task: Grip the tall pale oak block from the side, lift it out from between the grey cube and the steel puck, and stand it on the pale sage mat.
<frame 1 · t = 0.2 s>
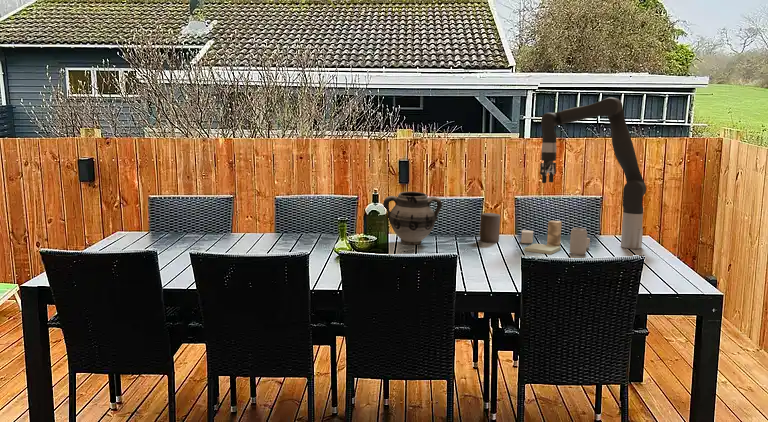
hand: (547, 182, 359), 29 cm above the table, tool pointing down, fingers open, 8 cm apart
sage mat: (542, 250, 328), on the table
oak block: (553, 245, 340), on the table
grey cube: (526, 242, 348), on the table
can: (577, 254, 322), on the table
pillar candle: (489, 241, 349), on the table
steel puck: (582, 248, 334), on the table
ceramic pot: (411, 243, 339), on the table
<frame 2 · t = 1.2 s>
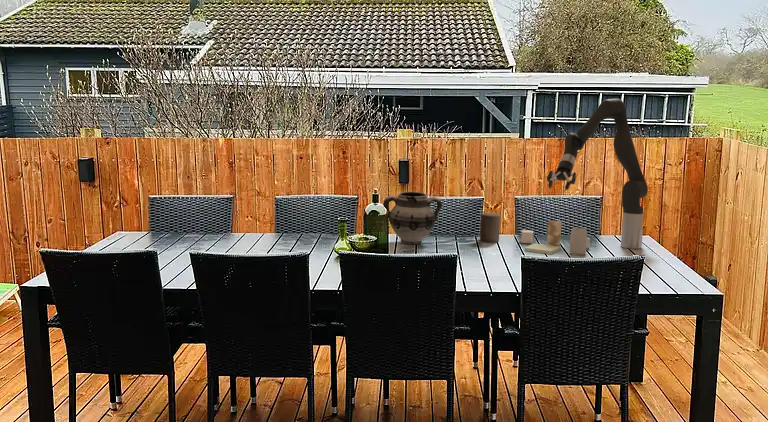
hand: (557, 188, 352), 27 cm above the table, tool tilted 45°, fingers open, 8 cm apart
nothing on the table moved.
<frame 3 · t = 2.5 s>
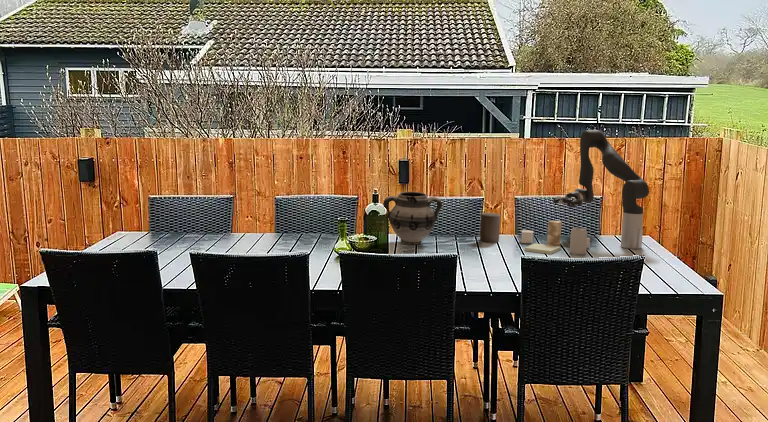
hand: (563, 202, 346), 20 cm above the table, tool horizontal, fingers open, 8 cm apart
nothing on the table moved.
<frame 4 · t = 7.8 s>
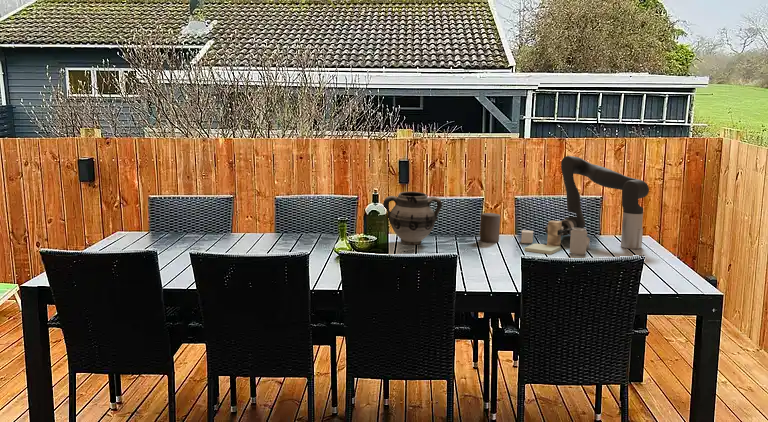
hand: (552, 232, 337), 7 cm above the table, tool horizontal, fingers closed on oak block, 5 cm apart
oak block: (553, 245, 340), on the table, touching gripper
everything else where it was.
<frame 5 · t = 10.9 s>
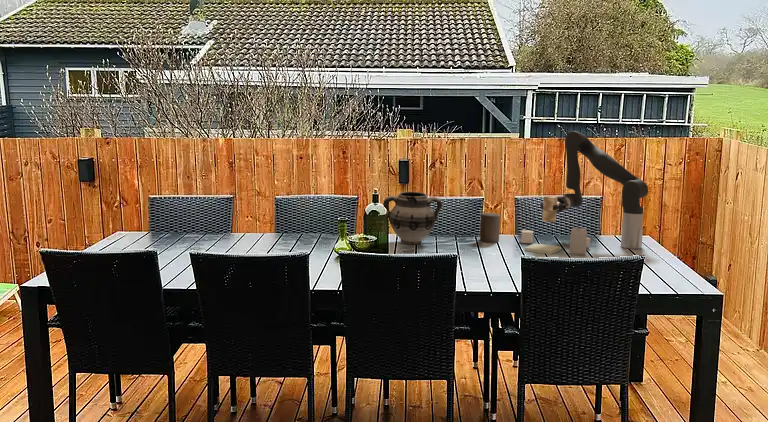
hand: (548, 207, 330), 20 cm above the table, tool horizontal, fingers closed on oak block, 5 cm apart
oak block: (549, 221, 333), point 13 cm above the table, touching gripper
everything else where it was.
when the fingers open (10 cm above the table, at t = 14.0 s): oak block drops 1 cm, resting on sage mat.
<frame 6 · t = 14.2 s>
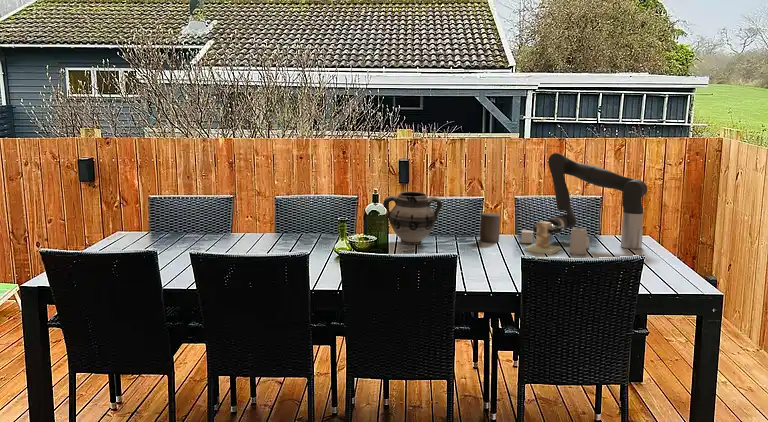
hand: (541, 230, 325), 10 cm above the table, tool horizontal, fingers open, 6 cm apart
oak block: (542, 247, 328), point 1 cm above the table, touching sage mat
everything else where it was.
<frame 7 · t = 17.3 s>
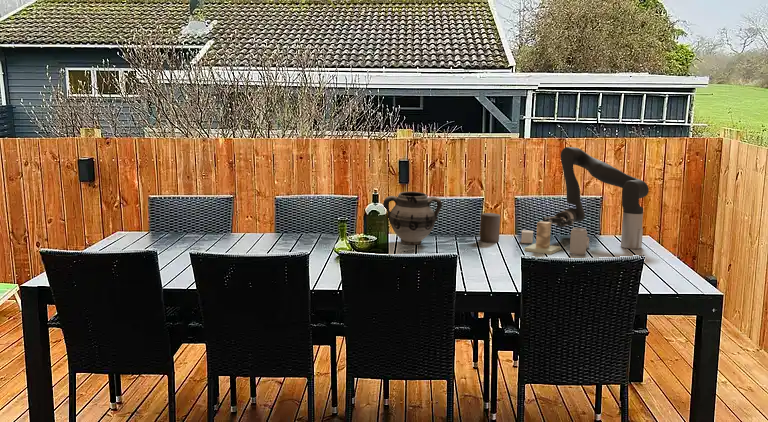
hand: (552, 222, 337), 12 cm above the table, tool horizontal, fingers open, 8 cm apart
nothing on the table moved.
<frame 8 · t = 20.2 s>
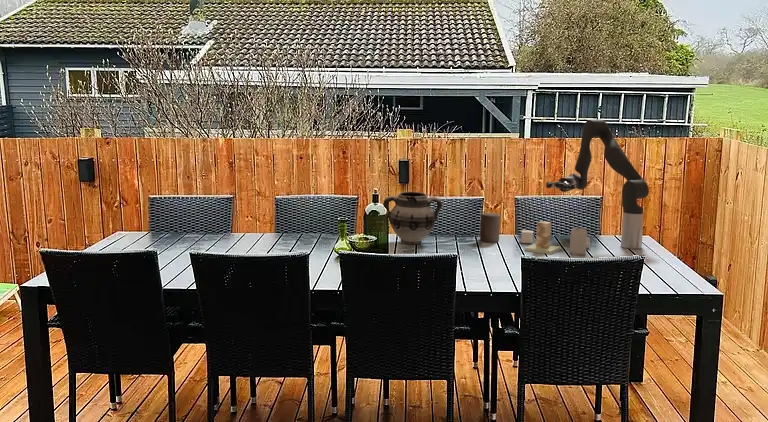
hand: (556, 186, 347), 28 cm above the table, tool horizontal, fingers open, 8 cm apart
nothing on the table moved.
at the end: oak block inside the target area on the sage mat (0.0 cm from its centre), point 1.5 cm above the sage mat's base; oak block tilted 0°; the gripper is holding nothing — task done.
